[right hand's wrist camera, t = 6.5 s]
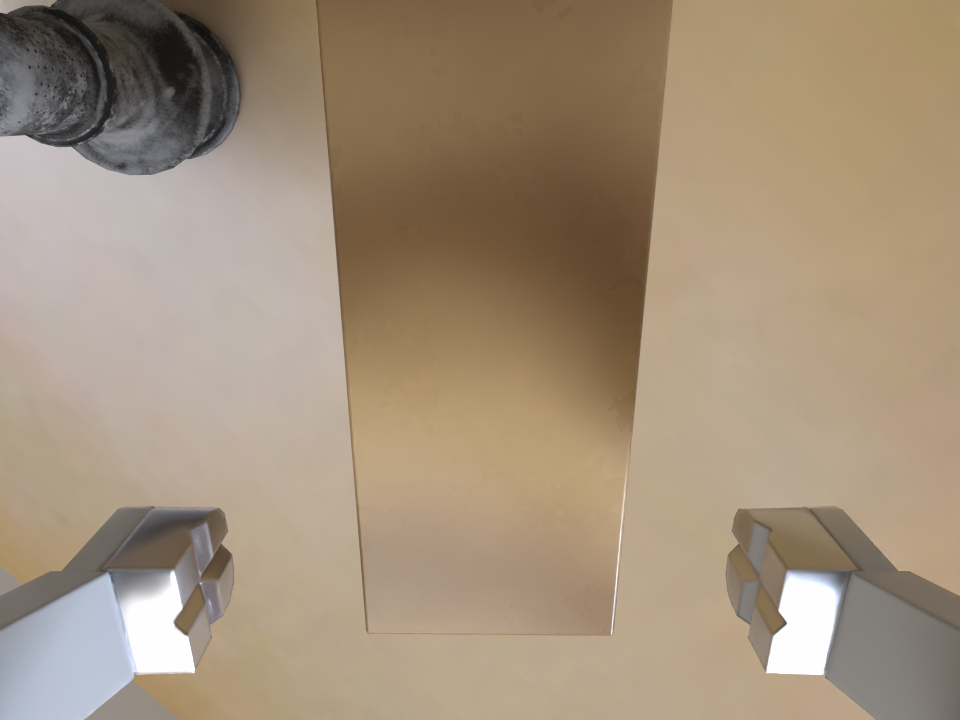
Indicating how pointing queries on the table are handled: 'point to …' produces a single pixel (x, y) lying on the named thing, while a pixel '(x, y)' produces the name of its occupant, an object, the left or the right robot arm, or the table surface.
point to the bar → (492, 297)
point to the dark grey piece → (116, 82)
